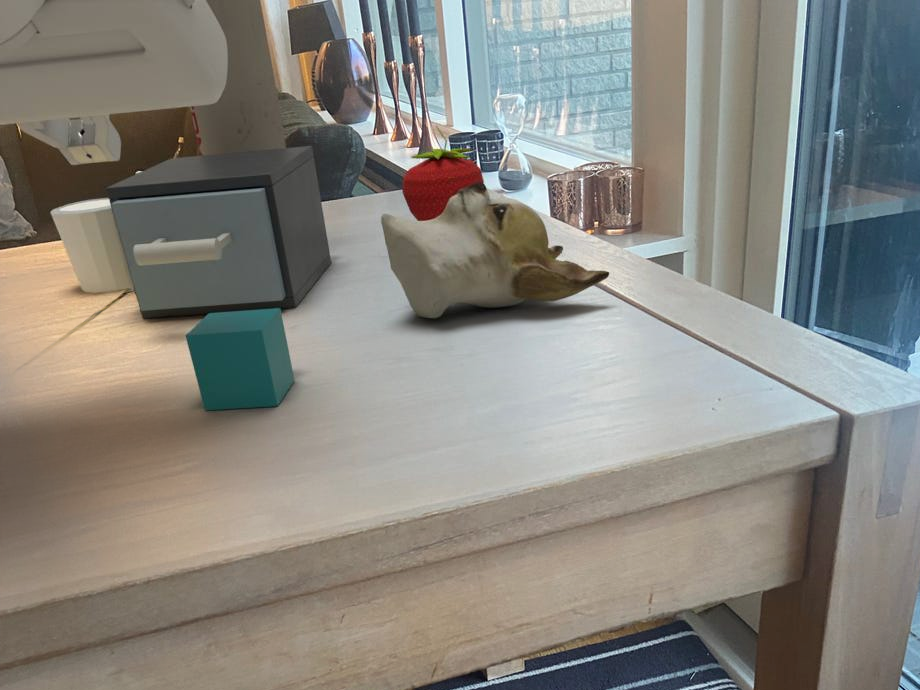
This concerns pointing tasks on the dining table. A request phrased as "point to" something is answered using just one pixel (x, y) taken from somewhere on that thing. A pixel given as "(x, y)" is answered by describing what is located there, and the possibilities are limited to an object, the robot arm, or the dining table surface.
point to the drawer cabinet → (288, 203)
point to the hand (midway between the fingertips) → (97, 153)
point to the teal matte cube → (241, 359)
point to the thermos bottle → (242, 87)
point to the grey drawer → (200, 248)
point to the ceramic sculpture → (480, 256)
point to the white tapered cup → (93, 245)
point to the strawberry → (438, 181)
